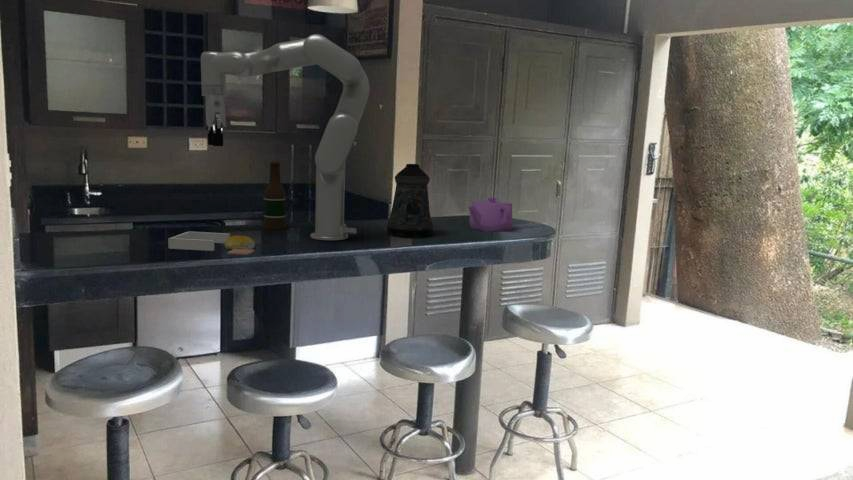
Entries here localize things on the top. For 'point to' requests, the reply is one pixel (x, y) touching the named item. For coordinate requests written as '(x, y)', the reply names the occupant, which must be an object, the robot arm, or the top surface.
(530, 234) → the top surface
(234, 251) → the tile
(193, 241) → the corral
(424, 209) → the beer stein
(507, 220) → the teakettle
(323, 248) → the top surface
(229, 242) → the bread roll
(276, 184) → the beer bottle
